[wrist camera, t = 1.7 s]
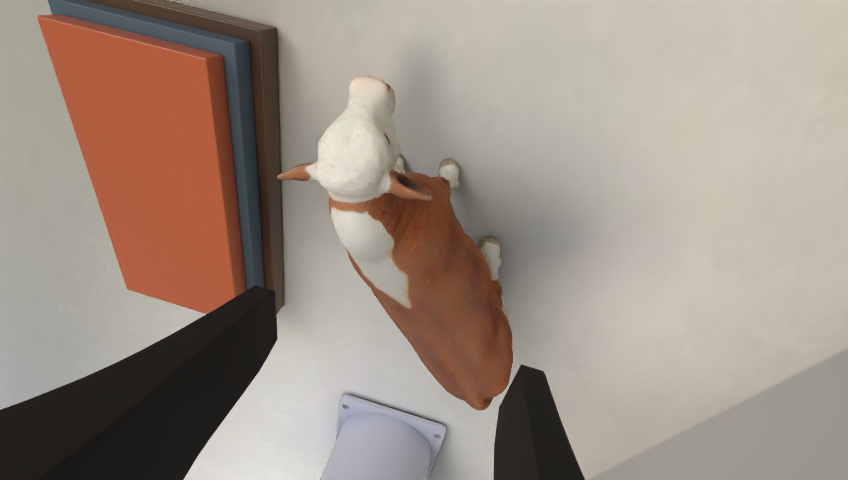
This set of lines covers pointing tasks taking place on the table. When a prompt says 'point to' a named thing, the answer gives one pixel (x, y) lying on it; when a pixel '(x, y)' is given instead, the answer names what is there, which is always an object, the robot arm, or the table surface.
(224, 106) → the top plank
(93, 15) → the middle plank
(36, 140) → the table surface
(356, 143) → the bull figurine
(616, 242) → the table surface
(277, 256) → the bottom plank
